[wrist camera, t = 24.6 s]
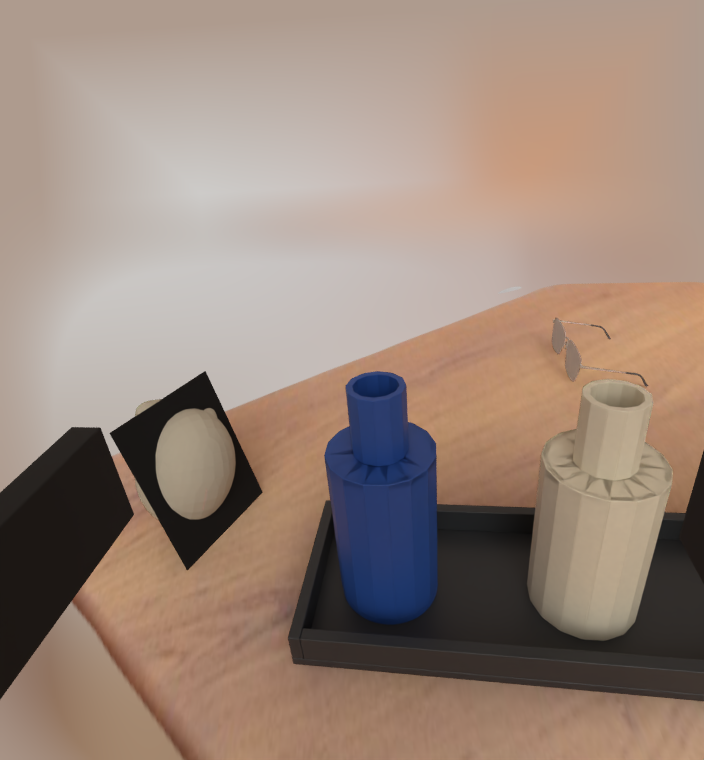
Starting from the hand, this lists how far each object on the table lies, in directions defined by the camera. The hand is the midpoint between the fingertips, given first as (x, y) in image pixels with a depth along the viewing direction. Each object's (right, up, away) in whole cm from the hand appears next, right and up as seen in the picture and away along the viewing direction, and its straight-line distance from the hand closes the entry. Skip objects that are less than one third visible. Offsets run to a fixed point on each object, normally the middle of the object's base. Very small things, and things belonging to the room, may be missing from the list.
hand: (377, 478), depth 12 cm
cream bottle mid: (+15, -13, +24) cm, 31 cm away
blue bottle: (+2, -12, +26) cm, 29 cm away
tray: (+15, -13, +24) cm, 31 cm away
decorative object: (-15, -10, +35) cm, 39 cm away
